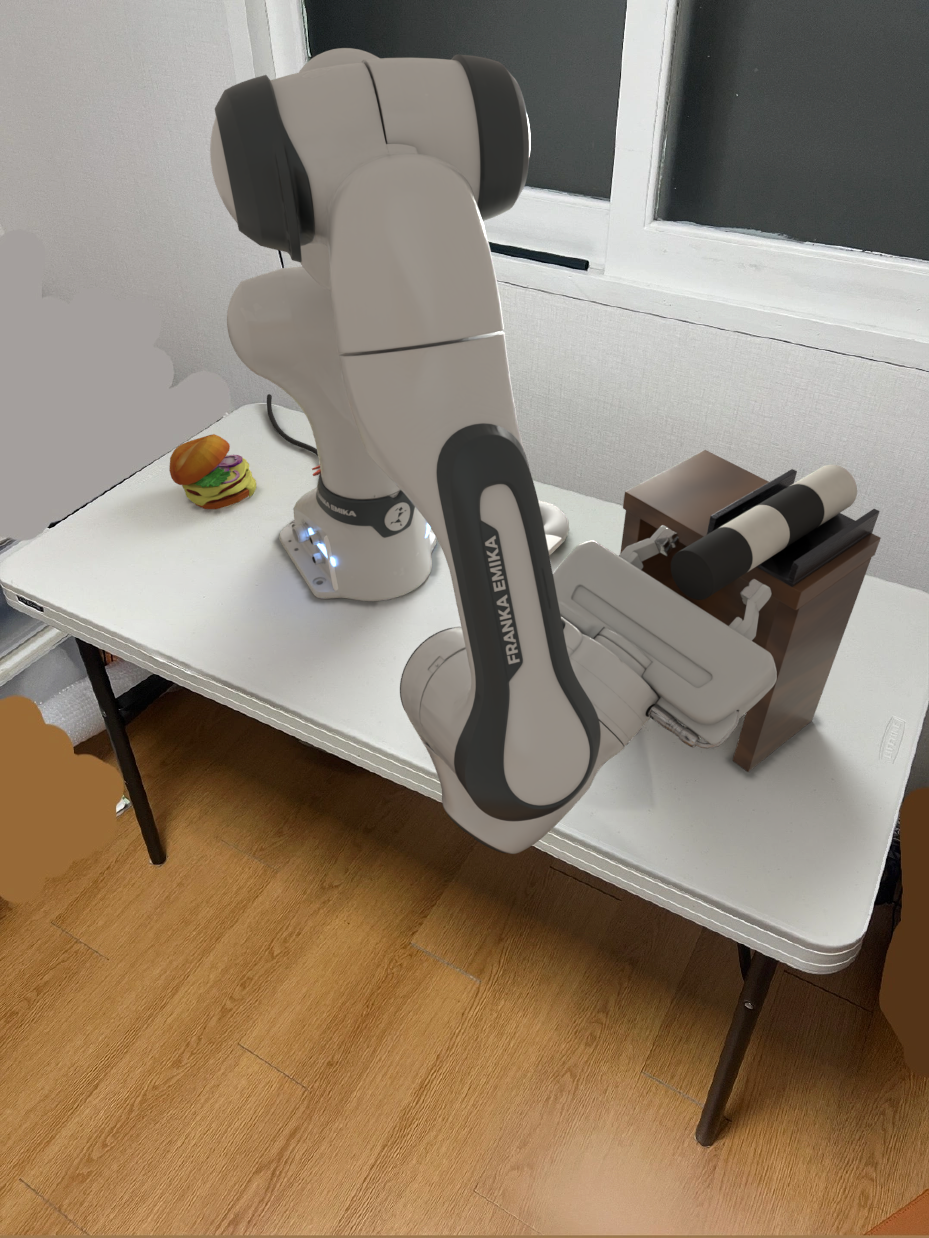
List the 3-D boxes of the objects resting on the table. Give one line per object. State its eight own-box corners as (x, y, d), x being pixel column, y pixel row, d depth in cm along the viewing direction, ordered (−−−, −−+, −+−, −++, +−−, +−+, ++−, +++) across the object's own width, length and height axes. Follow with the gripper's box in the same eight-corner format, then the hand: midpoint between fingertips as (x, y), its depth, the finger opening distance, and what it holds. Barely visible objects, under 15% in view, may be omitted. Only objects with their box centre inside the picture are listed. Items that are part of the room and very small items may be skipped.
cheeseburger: (252, 513, 126) (222, 454, 119) (184, 528, 128) (150, 471, 121) (265, 473, 133) (237, 416, 127) (200, 488, 135) (169, 432, 129)
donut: (489, 555, 118) (564, 562, 117) (488, 534, 116) (565, 541, 114) (501, 512, 126) (572, 518, 124) (501, 492, 123) (573, 498, 122)
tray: (705, 537, 80) (710, 515, 79) (786, 489, 86) (792, 468, 84) (792, 587, 75) (798, 565, 73) (872, 533, 80) (880, 511, 79)
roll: (708, 609, 72) (717, 566, 69) (667, 583, 75) (674, 541, 72) (850, 517, 82) (863, 476, 79) (808, 497, 84) (820, 456, 81)
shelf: (602, 668, 102) (624, 491, 86) (672, 623, 108) (705, 449, 92) (745, 774, 90) (801, 592, 74) (815, 718, 96) (881, 537, 80)
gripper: (699, 747, 64) (822, 604, 65) (510, 604, 76) (616, 485, 77) (714, 773, 69) (828, 640, 70) (535, 635, 81) (634, 523, 82)
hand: (716, 558), depth 73 cm, fingers open, 8 cm apart
